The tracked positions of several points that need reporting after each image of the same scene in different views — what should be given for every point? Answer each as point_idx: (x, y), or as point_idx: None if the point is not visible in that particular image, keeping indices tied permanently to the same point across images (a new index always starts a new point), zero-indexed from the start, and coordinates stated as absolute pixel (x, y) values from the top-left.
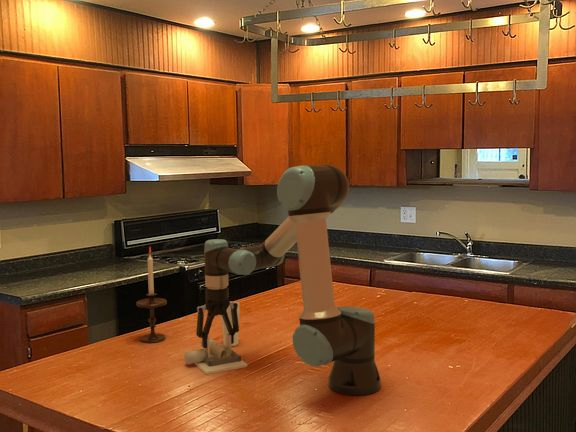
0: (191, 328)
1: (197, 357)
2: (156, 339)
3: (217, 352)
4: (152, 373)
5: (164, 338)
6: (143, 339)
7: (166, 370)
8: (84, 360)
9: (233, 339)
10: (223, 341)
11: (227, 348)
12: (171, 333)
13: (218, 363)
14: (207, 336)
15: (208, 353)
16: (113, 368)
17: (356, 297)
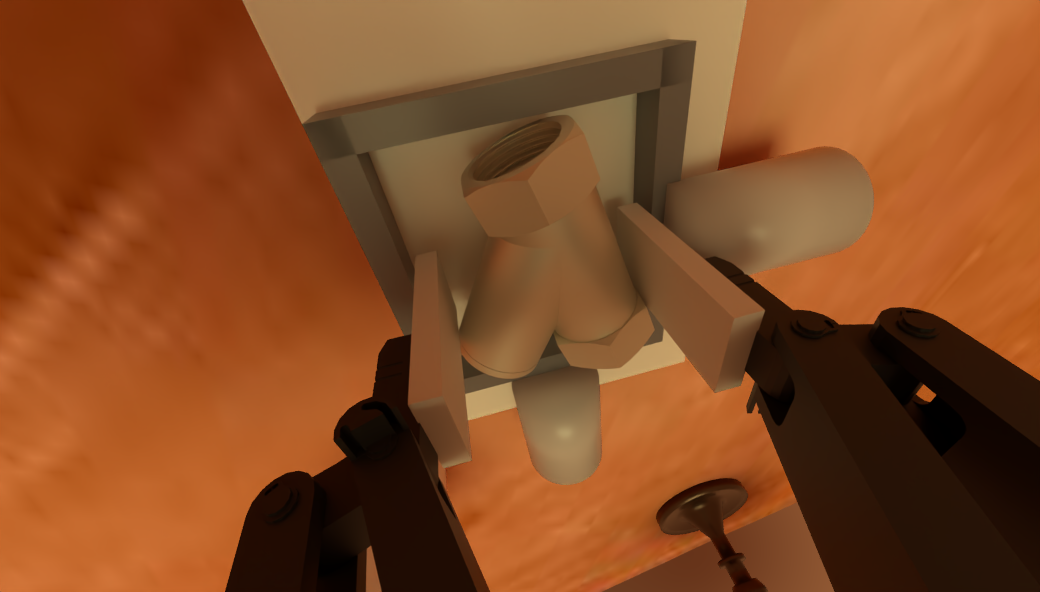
0: (542, 575)
1: (760, 171)
2: (698, 500)
3: (594, 172)
4: (1001, 104)
5: (670, 507)
6: (737, 498)
7: (904, 137)
8: None
9: (378, 377)
10: (446, 482)
11: (451, 314)
12: (619, 542)
13: (577, 58)
14: (788, 340)
15: (653, 223)
16: (1031, 254)
17: None
